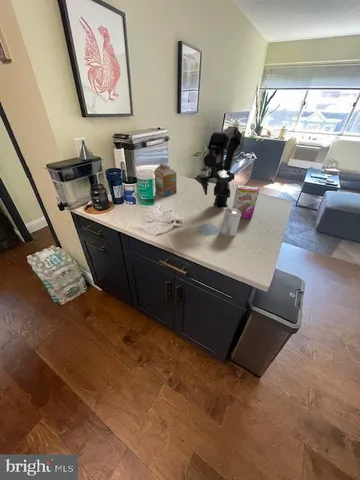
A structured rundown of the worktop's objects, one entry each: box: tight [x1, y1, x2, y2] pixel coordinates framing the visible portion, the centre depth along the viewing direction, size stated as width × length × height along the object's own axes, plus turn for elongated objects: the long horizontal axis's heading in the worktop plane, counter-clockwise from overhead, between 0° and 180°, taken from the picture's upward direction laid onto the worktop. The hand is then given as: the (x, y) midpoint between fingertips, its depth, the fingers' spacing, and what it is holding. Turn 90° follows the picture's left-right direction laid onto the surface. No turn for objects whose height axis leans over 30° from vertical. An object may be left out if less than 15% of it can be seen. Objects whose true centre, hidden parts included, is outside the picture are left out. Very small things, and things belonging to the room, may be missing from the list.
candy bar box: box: [232, 184, 260, 220], centre depth 105 cm, size 11×5×16 cm, turn 71°
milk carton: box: [153, 162, 178, 197], centre depth 131 cm, size 11×11×19 cm
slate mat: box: [195, 222, 221, 238], centre depth 98 cm, size 10×10×1 cm
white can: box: [220, 207, 242, 238], centre depth 92 cm, size 7×7×12 cm
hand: (213, 193), depth 102 cm, fingers open, 9 cm apart
